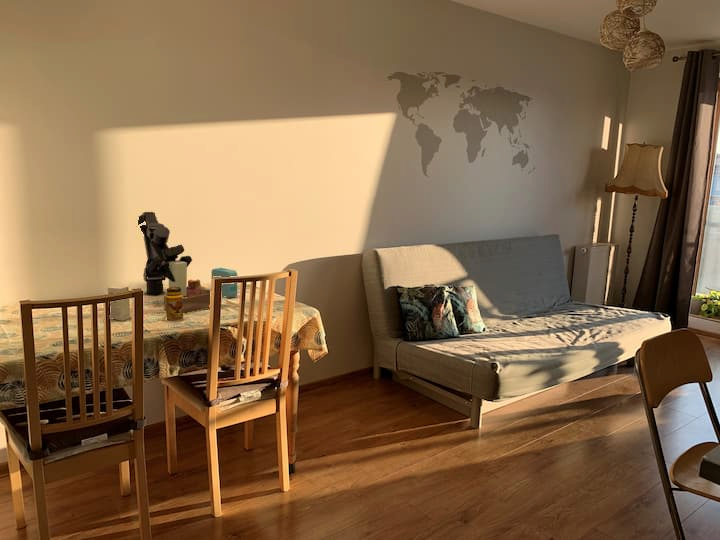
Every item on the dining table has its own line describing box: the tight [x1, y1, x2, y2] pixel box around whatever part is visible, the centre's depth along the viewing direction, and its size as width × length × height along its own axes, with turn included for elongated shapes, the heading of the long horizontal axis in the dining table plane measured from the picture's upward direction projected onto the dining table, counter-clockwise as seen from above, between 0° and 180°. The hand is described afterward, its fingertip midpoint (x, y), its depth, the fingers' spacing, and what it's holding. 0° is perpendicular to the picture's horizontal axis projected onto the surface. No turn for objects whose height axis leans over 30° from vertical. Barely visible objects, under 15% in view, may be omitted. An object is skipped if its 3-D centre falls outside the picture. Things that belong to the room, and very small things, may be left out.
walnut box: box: [163, 288, 211, 314], centre depth 238 cm, size 10×19×6 cm, turn 145°
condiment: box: [158, 287, 189, 323], centre depth 220 cm, size 7×8×12 cm
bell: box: [183, 278, 206, 298], centre depth 261 cm, size 12×12×7 cm
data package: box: [211, 267, 238, 298], centre depth 261 cm, size 12×4×12 cm, turn 54°
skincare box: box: [107, 285, 131, 321], centre depth 218 cm, size 6×4×12 cm
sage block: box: [168, 261, 188, 296], centre depth 242 cm, size 5×5×14 cm
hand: (179, 280), depth 241 cm, fingers closed on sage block, 5 cm apart
